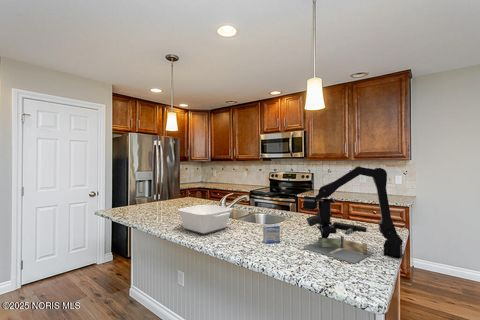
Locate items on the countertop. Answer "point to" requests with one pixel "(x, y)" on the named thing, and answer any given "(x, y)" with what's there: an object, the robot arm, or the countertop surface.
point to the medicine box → (271, 234)
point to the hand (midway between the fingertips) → (323, 242)
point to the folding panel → (328, 242)
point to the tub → (204, 218)
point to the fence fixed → (354, 246)
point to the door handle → (348, 227)
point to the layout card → (339, 253)
